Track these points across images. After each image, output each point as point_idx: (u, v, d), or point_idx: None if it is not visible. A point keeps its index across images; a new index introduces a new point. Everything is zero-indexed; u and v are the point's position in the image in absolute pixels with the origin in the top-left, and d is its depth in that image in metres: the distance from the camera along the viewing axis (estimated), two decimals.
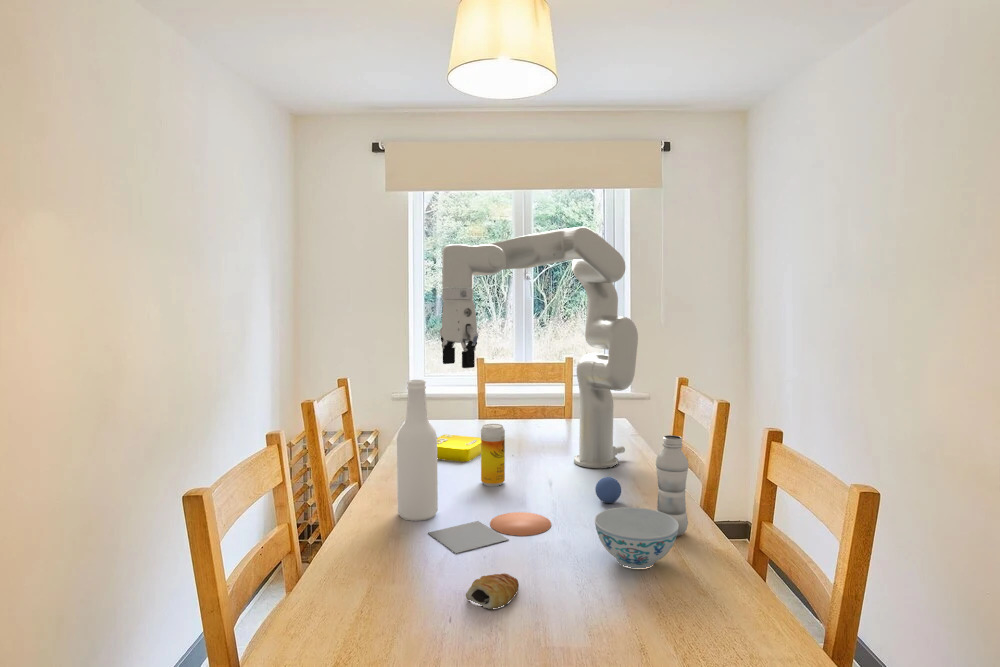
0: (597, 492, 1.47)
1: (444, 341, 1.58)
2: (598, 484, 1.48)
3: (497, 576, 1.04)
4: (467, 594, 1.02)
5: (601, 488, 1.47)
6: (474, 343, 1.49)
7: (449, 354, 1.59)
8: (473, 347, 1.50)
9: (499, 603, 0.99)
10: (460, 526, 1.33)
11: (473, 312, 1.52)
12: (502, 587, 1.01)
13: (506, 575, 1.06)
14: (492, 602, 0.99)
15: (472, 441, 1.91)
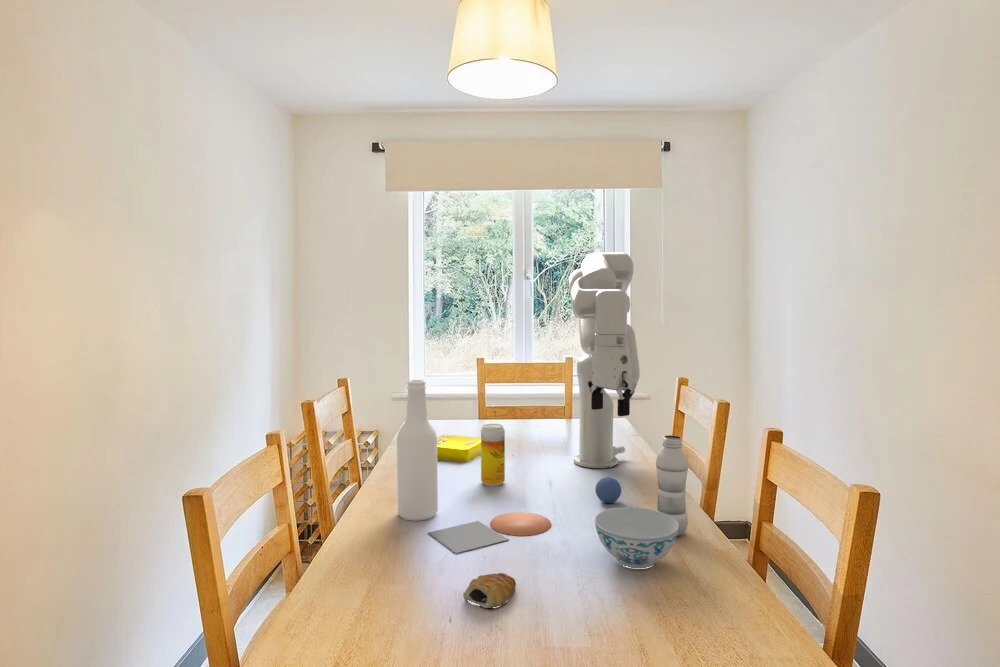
0: (597, 492, 1.47)
1: (593, 386, 1.56)
2: (598, 484, 1.48)
3: (494, 576, 1.04)
4: (465, 594, 1.02)
5: (601, 488, 1.47)
6: (632, 391, 1.46)
7: (598, 400, 1.56)
8: (630, 395, 1.47)
9: (496, 603, 0.99)
10: (460, 526, 1.33)
11: (629, 359, 1.49)
12: (500, 587, 1.01)
13: (503, 574, 1.06)
14: (490, 601, 0.99)
15: (471, 441, 1.91)
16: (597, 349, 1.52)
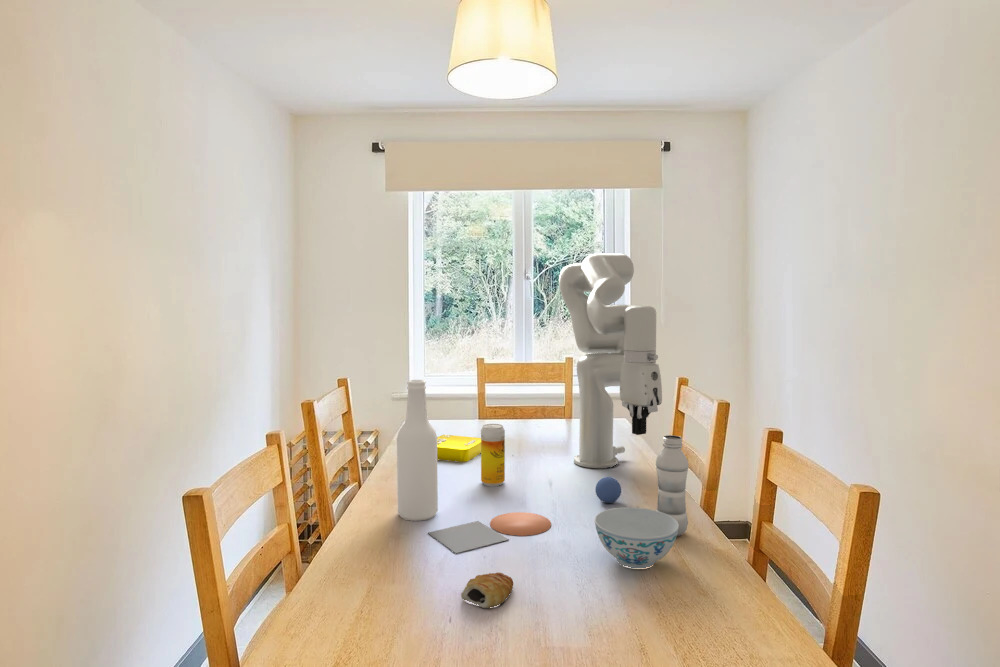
0: (597, 492, 1.47)
1: (631, 408, 1.52)
2: (598, 484, 1.48)
3: (492, 575, 1.04)
4: (462, 594, 1.02)
5: (601, 488, 1.47)
6: None
7: None
8: (647, 414, 1.50)
9: (495, 602, 0.99)
10: (460, 526, 1.33)
11: (659, 375, 1.48)
12: (497, 586, 1.01)
13: (501, 574, 1.06)
14: (488, 601, 0.99)
15: (471, 441, 1.91)
16: (626, 365, 1.52)
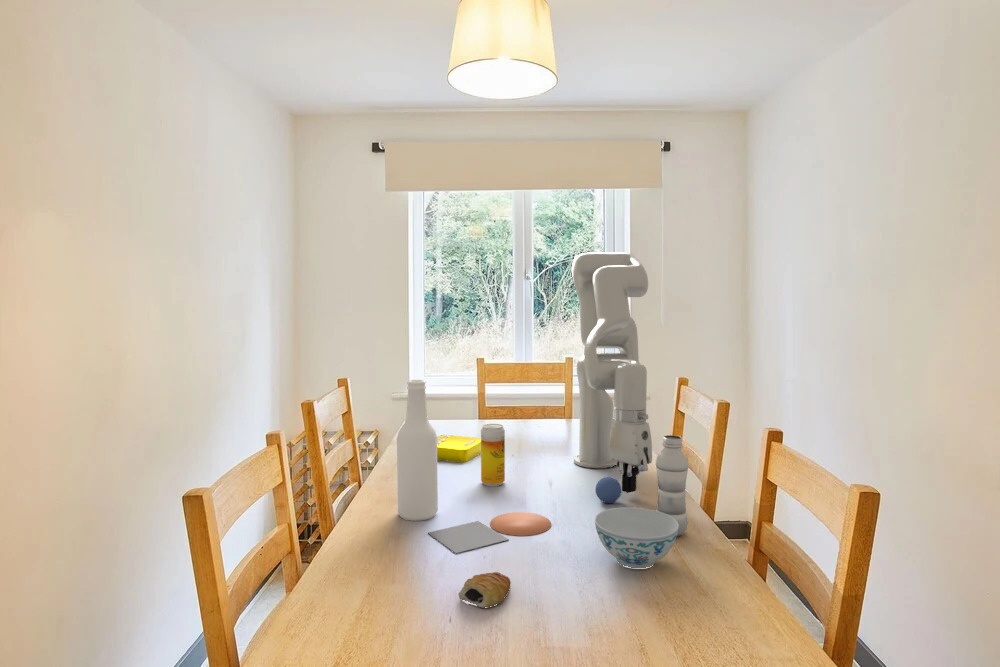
0: (597, 492, 1.47)
1: (621, 466, 1.52)
2: (598, 484, 1.48)
3: (489, 575, 1.04)
4: (460, 594, 1.02)
5: (601, 488, 1.47)
6: None
7: None
8: (637, 472, 1.50)
9: (493, 602, 1.00)
10: (460, 526, 1.33)
11: (649, 434, 1.48)
12: (495, 586, 1.01)
13: (498, 574, 1.06)
14: (486, 600, 0.99)
15: (470, 441, 1.91)
16: (616, 423, 1.51)
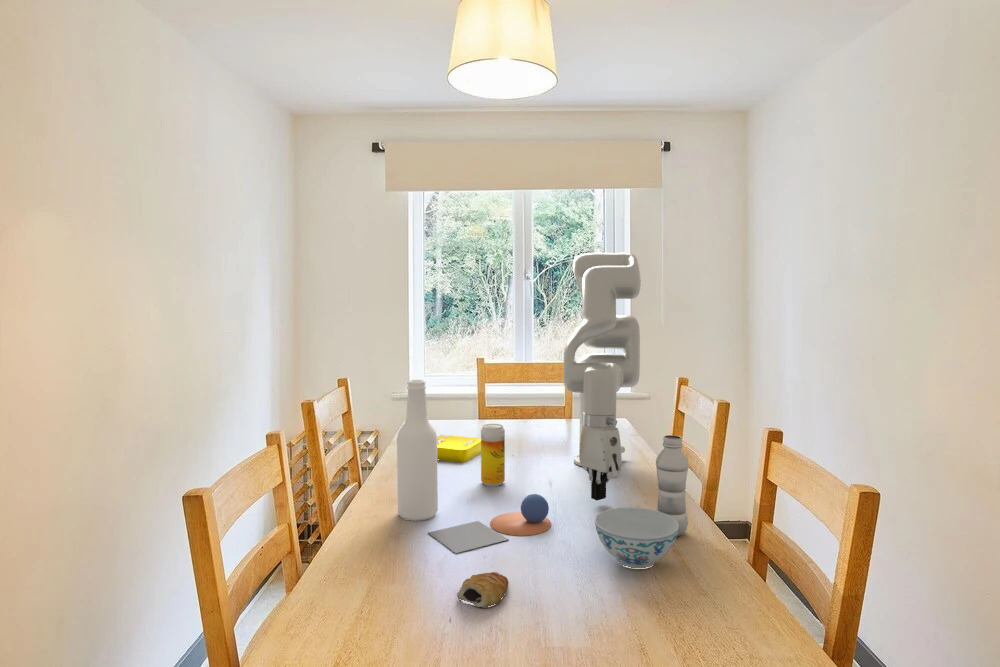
0: (525, 518, 1.36)
1: (590, 472, 1.47)
2: (521, 511, 1.35)
3: (487, 575, 1.05)
4: (458, 594, 1.02)
5: (525, 516, 1.34)
6: None
7: None
8: (607, 479, 1.45)
9: (491, 602, 1.00)
10: (460, 526, 1.33)
11: (618, 440, 1.43)
12: (493, 586, 1.01)
13: (496, 573, 1.07)
14: (485, 600, 0.99)
15: (469, 441, 1.91)
16: (585, 428, 1.46)
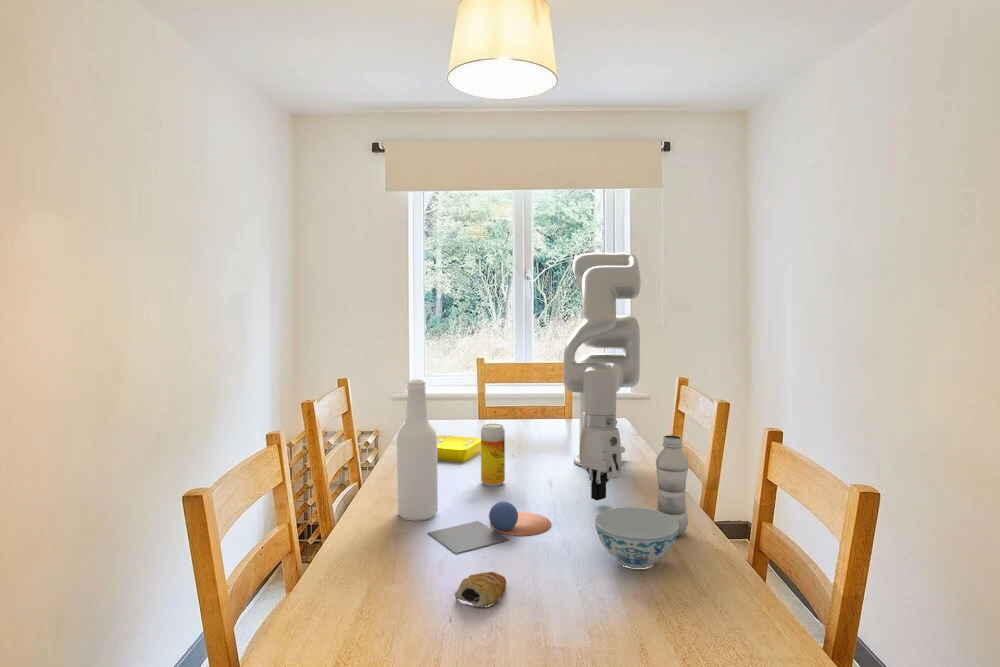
0: None
1: (590, 472, 1.47)
2: None
3: (485, 574, 1.05)
4: (456, 593, 1.02)
5: None
6: None
7: None
8: (607, 479, 1.45)
9: (489, 602, 1.00)
10: (460, 526, 1.33)
11: (618, 440, 1.43)
12: (491, 585, 1.02)
13: (493, 573, 1.07)
14: (483, 600, 0.99)
15: (469, 441, 1.91)
16: (585, 428, 1.46)
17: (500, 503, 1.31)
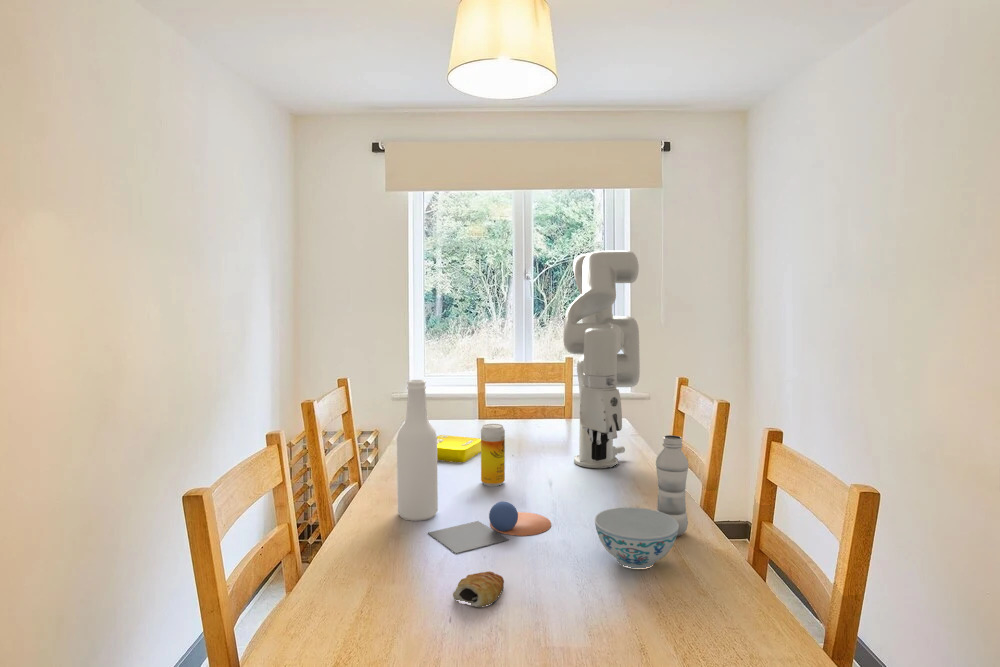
0: None
1: (590, 433, 1.47)
2: None
3: (483, 574, 1.05)
4: (454, 593, 1.02)
5: None
6: None
7: None
8: (607, 440, 1.45)
9: (487, 601, 1.00)
10: (460, 526, 1.33)
11: (619, 401, 1.43)
12: (489, 585, 1.02)
13: (491, 573, 1.07)
14: (481, 600, 0.99)
15: (468, 441, 1.91)
16: (586, 389, 1.46)
17: (500, 503, 1.31)
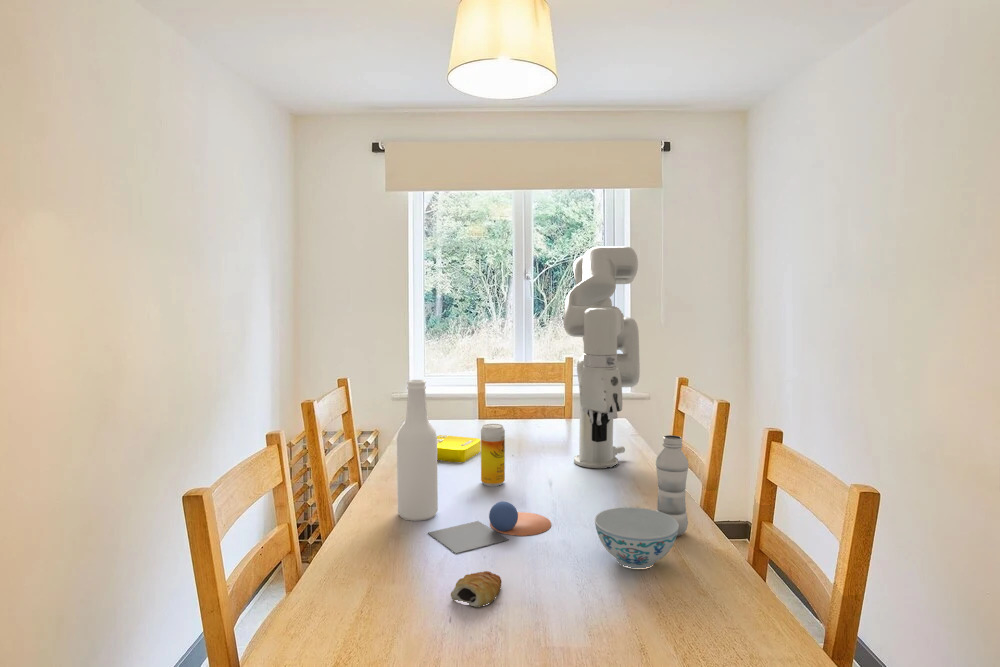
0: None
1: (591, 414, 1.46)
2: None
3: (481, 574, 1.05)
4: (452, 593, 1.02)
5: None
6: None
7: None
8: (607, 421, 1.44)
9: (485, 601, 1.00)
10: (460, 526, 1.33)
11: (619, 380, 1.42)
12: (487, 585, 1.02)
13: (489, 573, 1.07)
14: (479, 600, 0.99)
15: (467, 442, 1.91)
16: (586, 370, 1.45)
17: (500, 503, 1.31)
